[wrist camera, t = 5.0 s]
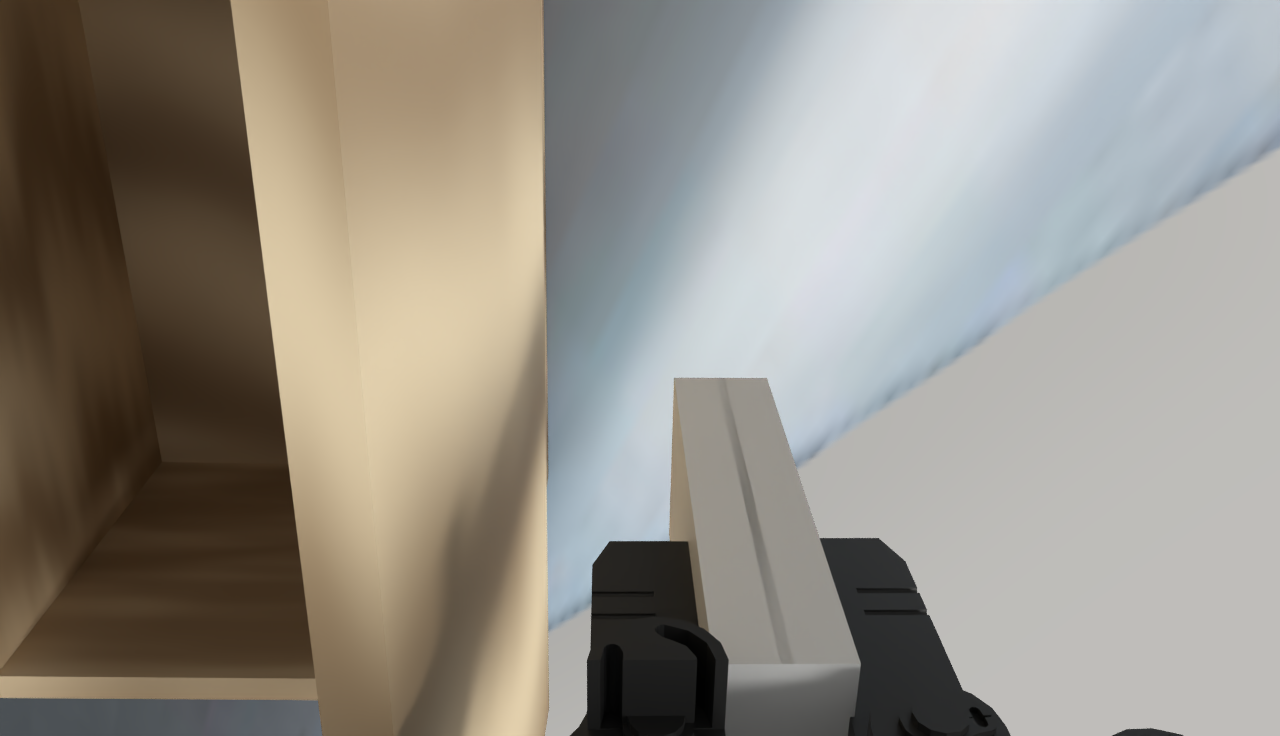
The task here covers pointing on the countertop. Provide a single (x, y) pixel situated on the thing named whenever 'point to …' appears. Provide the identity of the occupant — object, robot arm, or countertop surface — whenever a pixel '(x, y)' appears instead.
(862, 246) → the countertop surface
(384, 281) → the flap
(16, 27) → the wooden box
